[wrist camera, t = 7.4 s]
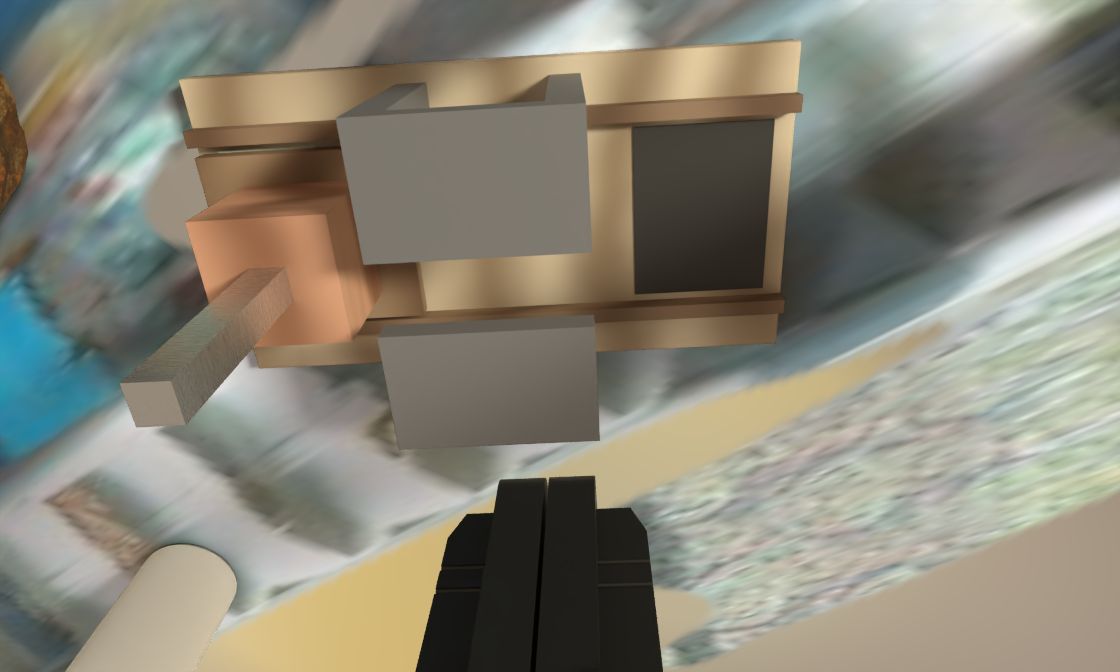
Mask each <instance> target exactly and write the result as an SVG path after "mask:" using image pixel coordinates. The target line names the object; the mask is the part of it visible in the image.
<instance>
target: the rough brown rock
mask: <svg viewBox="0 0 1120 672" xmlns="http://www.w3.org/2000/svg"><path fill="white" fill-rule="evenodd" d="M27 155H28V149H27V144H26V139H25V134H24V131H23V129H22V128H21V126H20V124H19V120H18V116H17V110H16V104H15V99H14V97H13V95H12V92H11V90H10V88H9V86H8V84H7V82H6V80H5V78H4V76H3V74H2V72H1V70H0V214H1V212H2V210H3V209H4V207H5V205H6V203H7V202H8V200H9V198H10V197H11V195H12V193H13V192H14V190H15V189H16V188H17V186H18V185H19V183H20V181H21V178H22V176H23V173H24V171H25V165H26V159H27Z"/></svg>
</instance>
